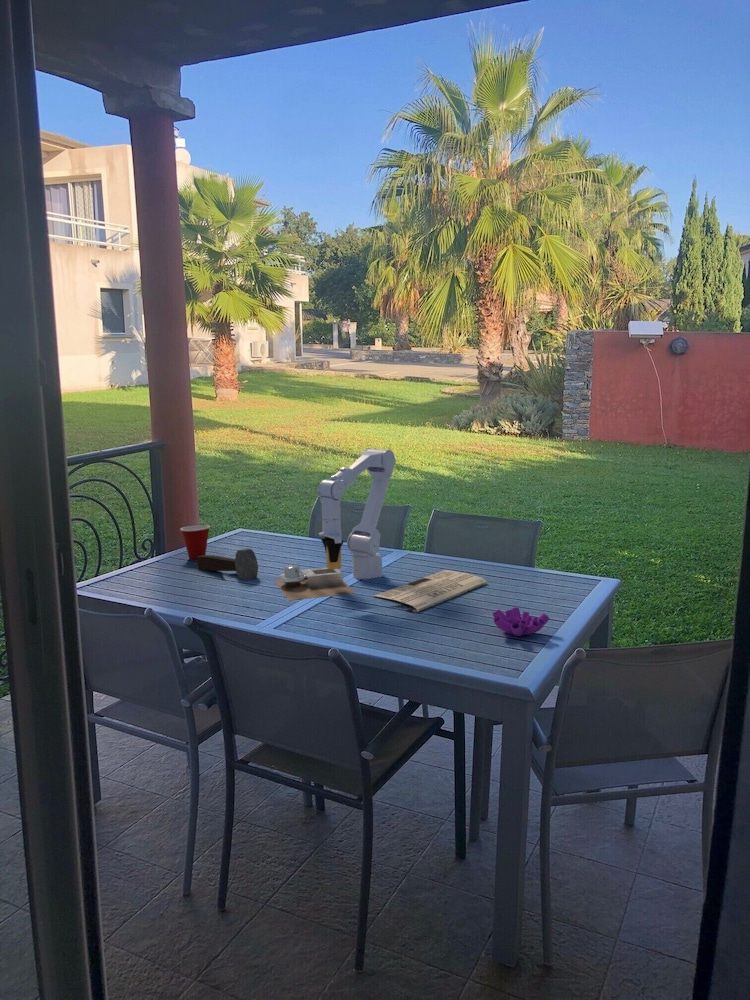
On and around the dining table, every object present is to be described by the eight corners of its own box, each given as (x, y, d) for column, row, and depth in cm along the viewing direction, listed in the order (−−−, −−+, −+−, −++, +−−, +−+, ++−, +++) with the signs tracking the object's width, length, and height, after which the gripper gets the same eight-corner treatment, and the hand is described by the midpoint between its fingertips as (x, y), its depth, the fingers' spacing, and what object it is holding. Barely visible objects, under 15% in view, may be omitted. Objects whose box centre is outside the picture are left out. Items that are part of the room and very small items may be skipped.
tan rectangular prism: (338, 566, 249) (338, 544, 247) (341, 568, 246) (340, 546, 245) (326, 567, 247) (326, 545, 246) (328, 569, 245) (328, 547, 244)
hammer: (196, 579, 277) (248, 584, 256) (192, 547, 276) (243, 550, 255) (208, 576, 280) (259, 581, 259) (204, 545, 279) (255, 548, 258)
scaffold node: (335, 576, 259) (335, 559, 258) (343, 583, 251) (342, 565, 250) (276, 582, 253) (275, 564, 252) (282, 590, 245) (281, 571, 244)
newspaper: (442, 576, 266) (442, 568, 266) (491, 586, 254) (491, 578, 253) (371, 602, 239) (371, 593, 238) (421, 616, 227) (421, 606, 226)
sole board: (336, 578, 263) (336, 574, 262) (356, 597, 242) (356, 593, 242) (274, 585, 256) (274, 580, 256) (289, 605, 236) (288, 600, 235)
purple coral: (539, 654, 205) (529, 632, 199) (490, 640, 214) (478, 619, 208) (556, 620, 210) (547, 597, 204) (507, 608, 220) (497, 587, 214)
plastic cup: (202, 552, 298) (200, 521, 296) (217, 558, 290) (215, 526, 288) (176, 558, 291) (174, 526, 289) (191, 563, 283) (189, 531, 281)
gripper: (312, 514, 249) (314, 556, 252) (325, 524, 236) (326, 567, 238) (334, 513, 252) (335, 554, 254) (347, 522, 238) (348, 565, 241)
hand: (332, 560), depth 246 cm, fingers closed on tan rectangular prism, 2 cm apart
